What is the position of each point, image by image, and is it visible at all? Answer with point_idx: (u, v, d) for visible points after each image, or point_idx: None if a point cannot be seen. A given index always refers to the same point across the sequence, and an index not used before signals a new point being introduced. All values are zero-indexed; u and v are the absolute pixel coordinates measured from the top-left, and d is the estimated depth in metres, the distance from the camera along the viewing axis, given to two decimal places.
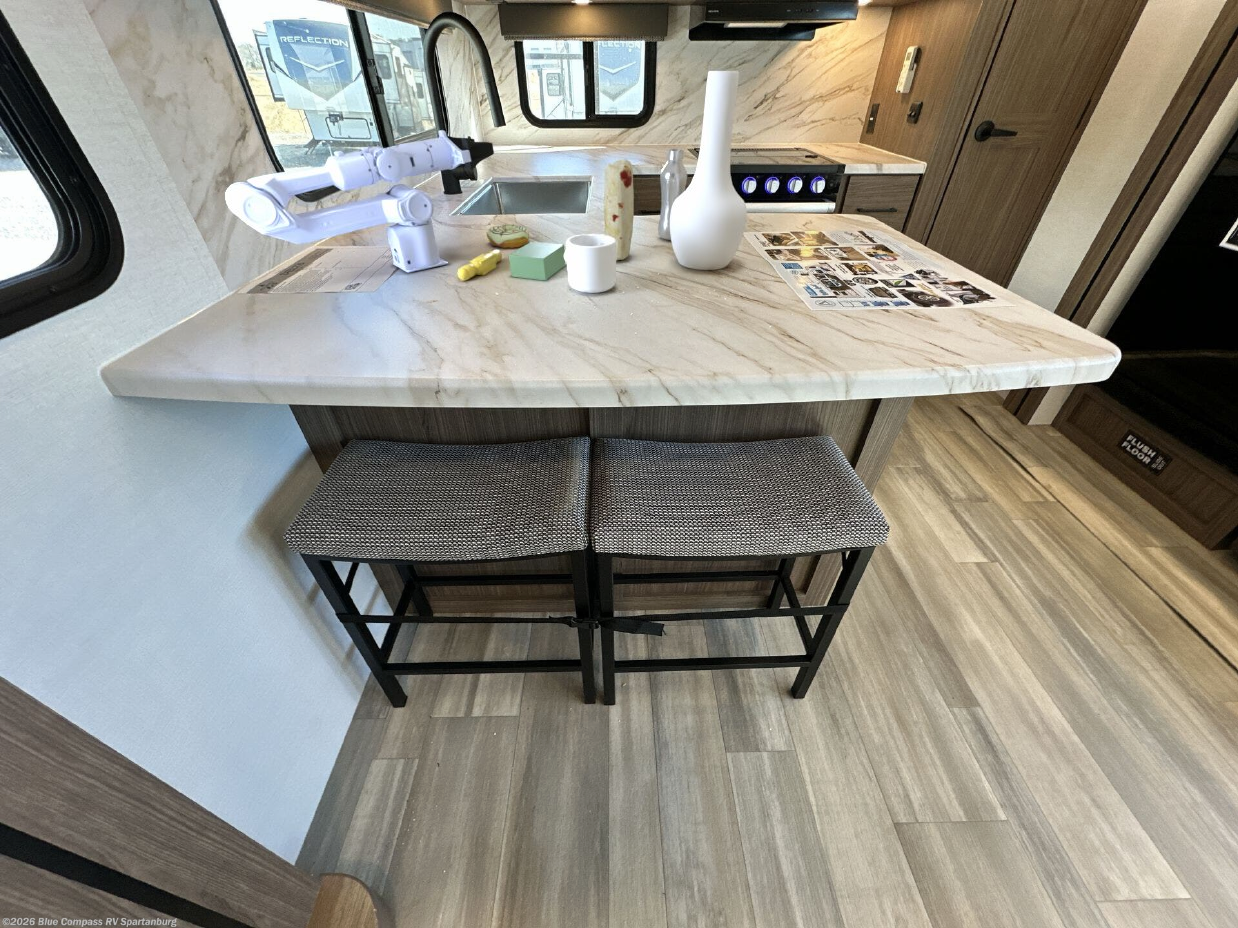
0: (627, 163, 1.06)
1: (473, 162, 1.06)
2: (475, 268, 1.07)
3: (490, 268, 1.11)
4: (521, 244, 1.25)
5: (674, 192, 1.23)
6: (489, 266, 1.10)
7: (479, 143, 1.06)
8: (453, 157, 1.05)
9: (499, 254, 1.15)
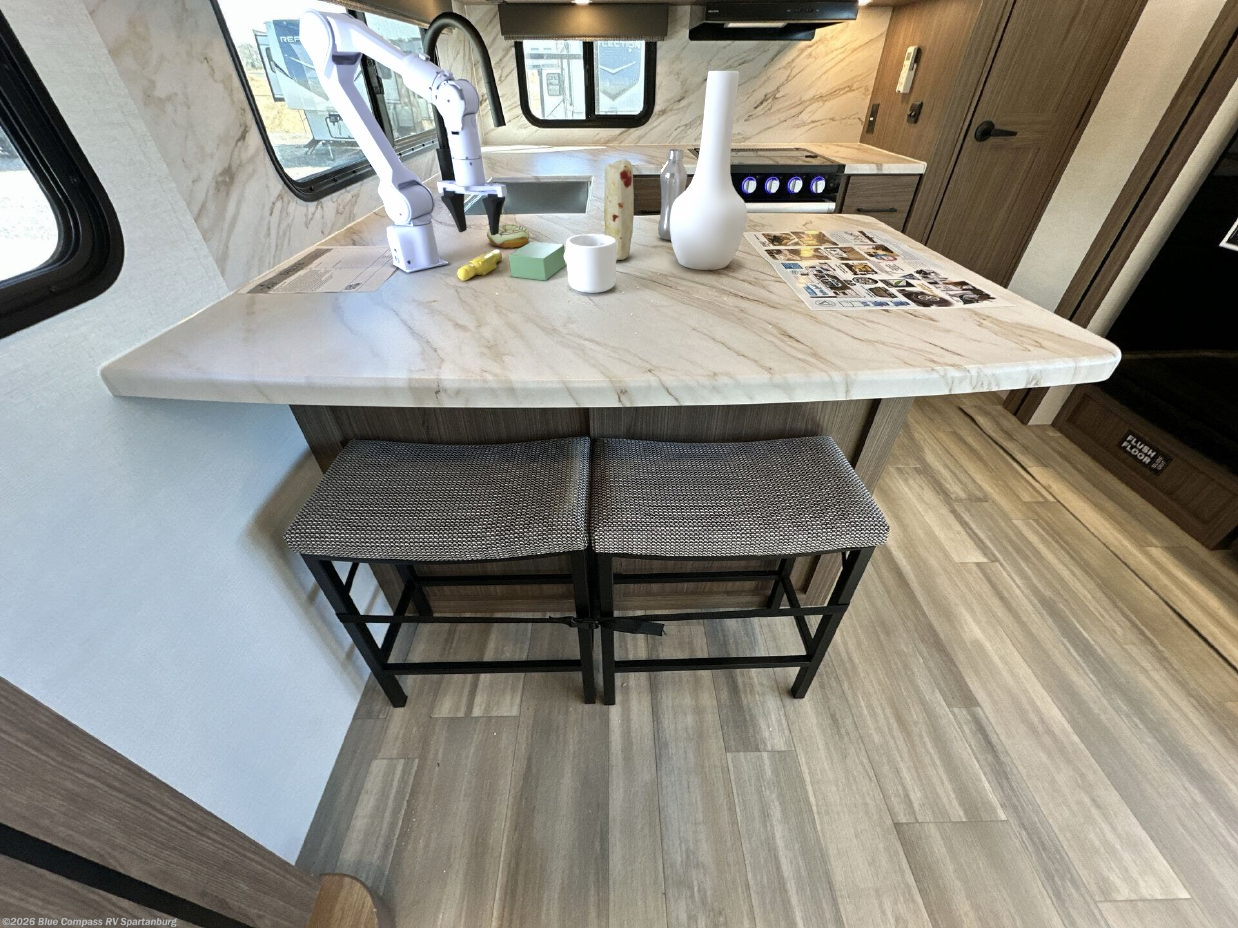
0: (627, 163, 1.06)
1: None
2: (475, 268, 1.07)
3: (490, 268, 1.11)
4: (521, 244, 1.25)
5: (674, 192, 1.23)
6: (489, 266, 1.10)
7: None
8: None
9: (499, 254, 1.15)
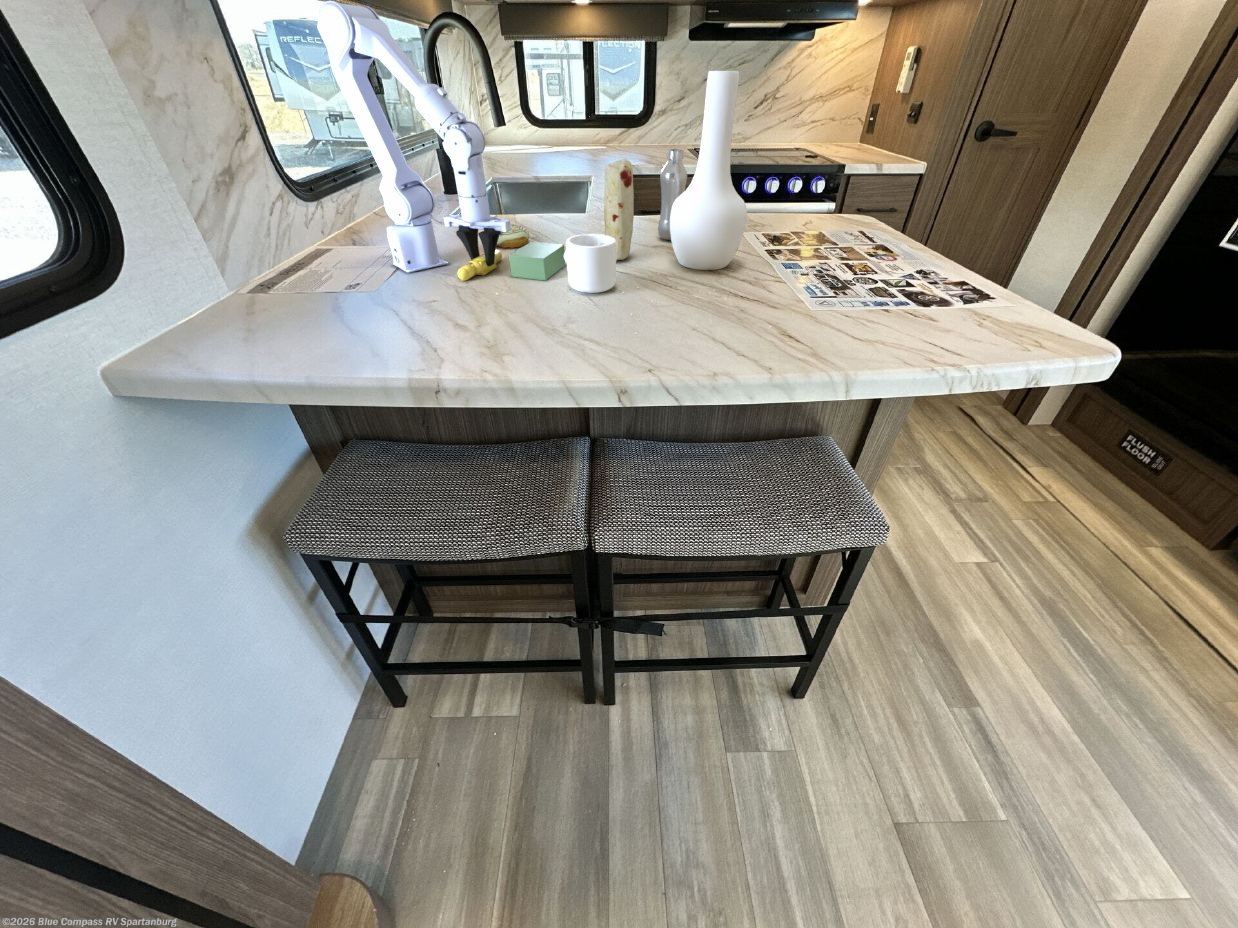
0: (627, 163, 1.06)
1: None
2: (475, 268, 1.07)
3: (490, 268, 1.11)
4: (521, 244, 1.25)
5: (674, 192, 1.23)
6: (489, 266, 1.10)
7: None
8: None
9: (499, 254, 1.15)
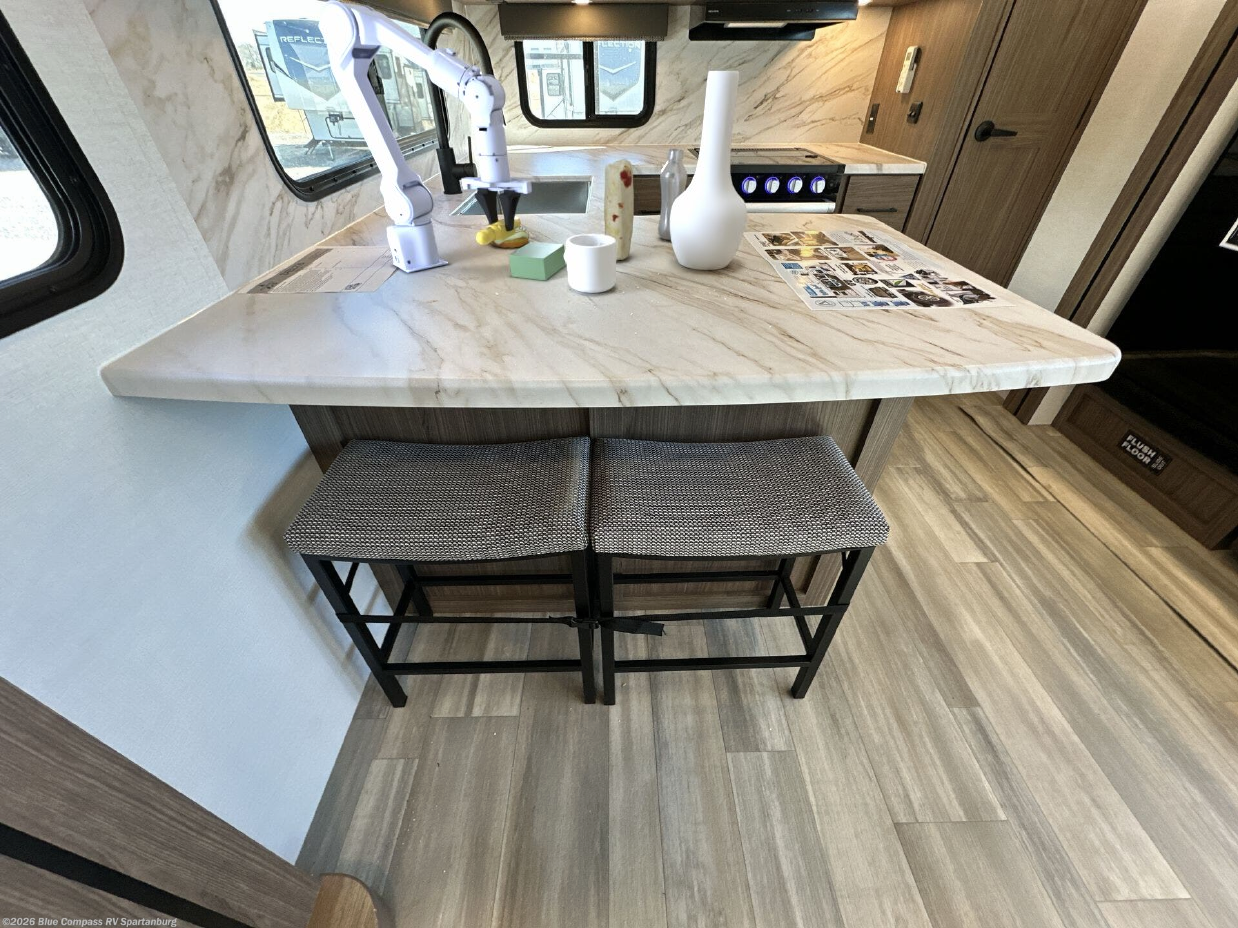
0: (627, 163, 1.06)
1: None
2: (494, 232, 1.02)
3: (509, 234, 1.06)
4: (521, 244, 1.25)
5: (674, 192, 1.23)
6: (508, 232, 1.06)
7: None
8: None
9: (518, 220, 1.10)
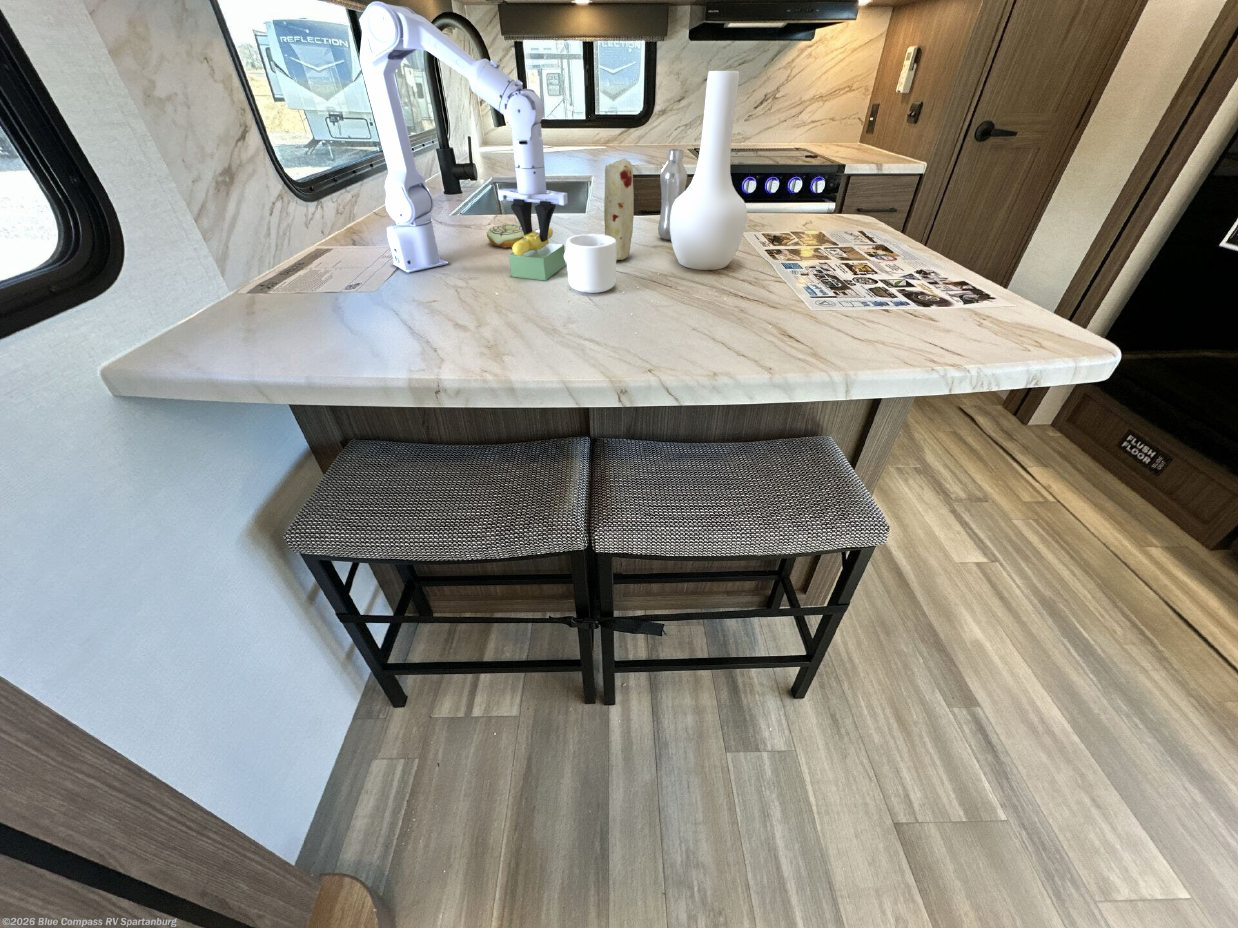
0: (627, 163, 1.06)
1: None
2: (530, 243, 1.04)
3: (543, 244, 1.08)
4: None
5: (674, 192, 1.23)
6: (542, 242, 1.07)
7: None
8: None
9: (550, 230, 1.12)
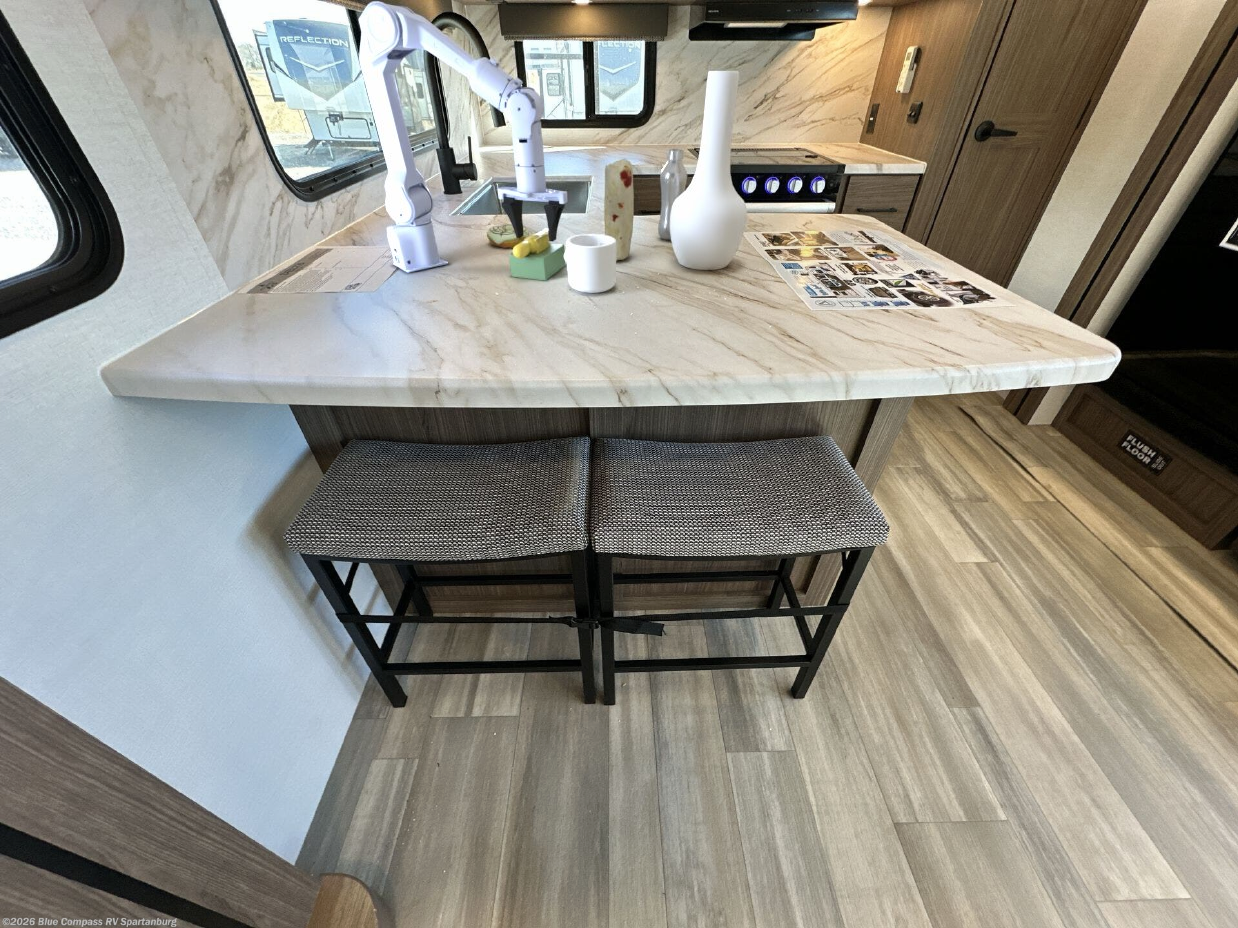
0: (627, 163, 1.06)
1: None
2: (530, 246, 1.04)
3: (543, 247, 1.08)
4: None
5: (674, 192, 1.23)
6: (543, 245, 1.07)
7: None
8: None
9: None
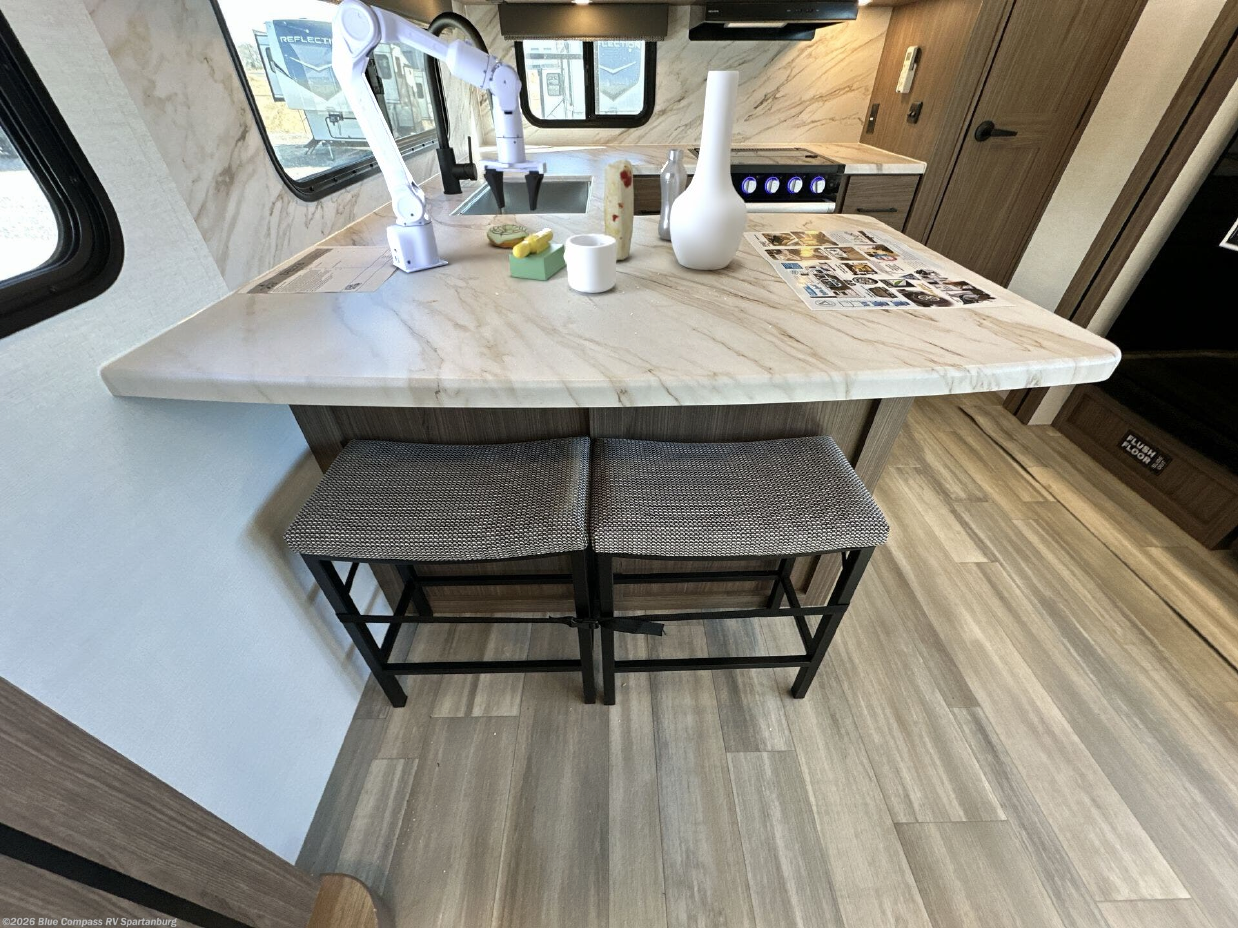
0: (627, 163, 1.06)
1: None
2: (530, 246, 1.04)
3: (543, 247, 1.08)
4: None
5: (674, 192, 1.23)
6: (543, 245, 1.07)
7: None
8: None
9: (551, 233, 1.12)
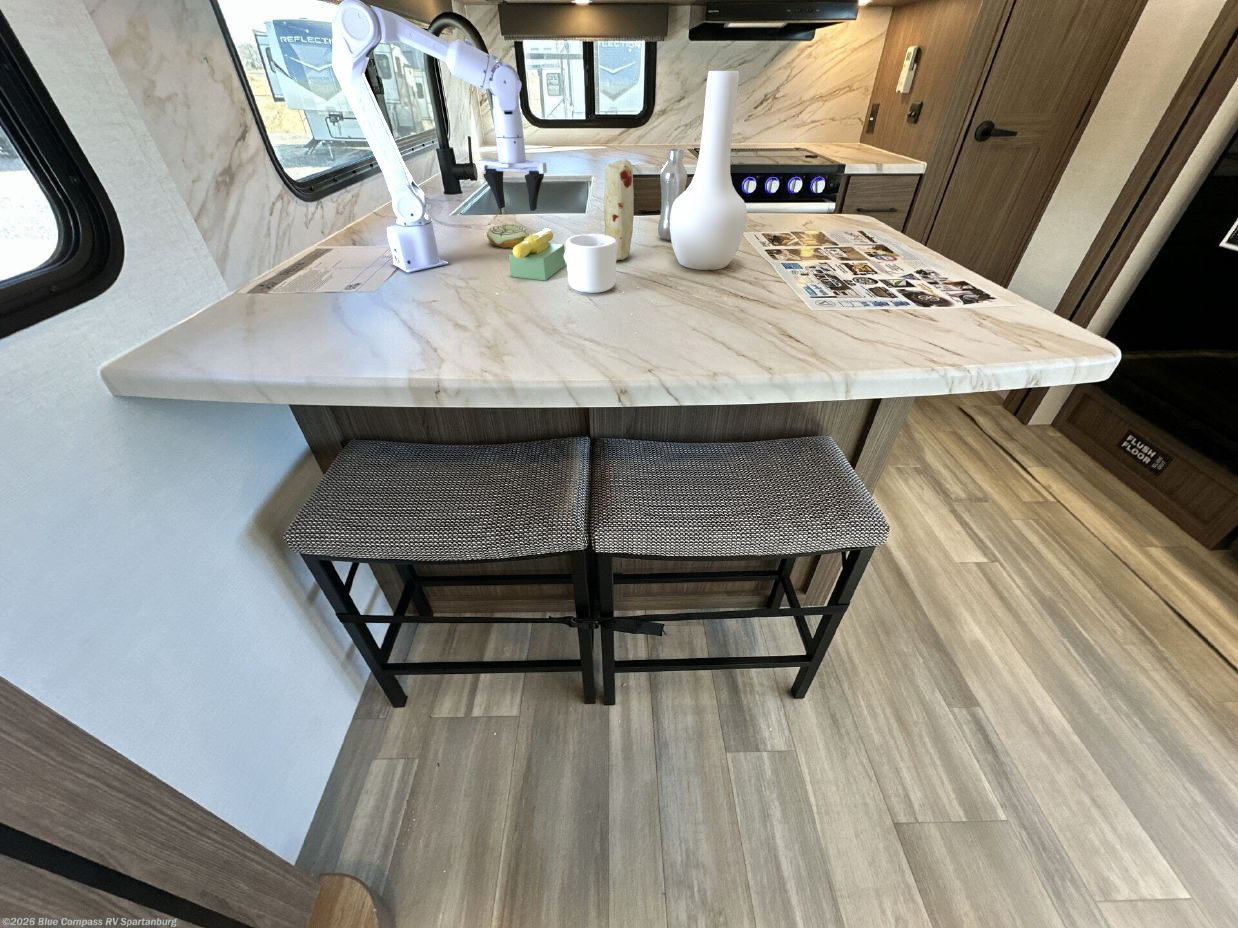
0: (627, 163, 1.06)
1: None
2: (530, 246, 1.04)
3: (543, 247, 1.08)
4: None
5: (674, 192, 1.23)
6: (543, 245, 1.07)
7: None
8: None
9: (551, 233, 1.12)
